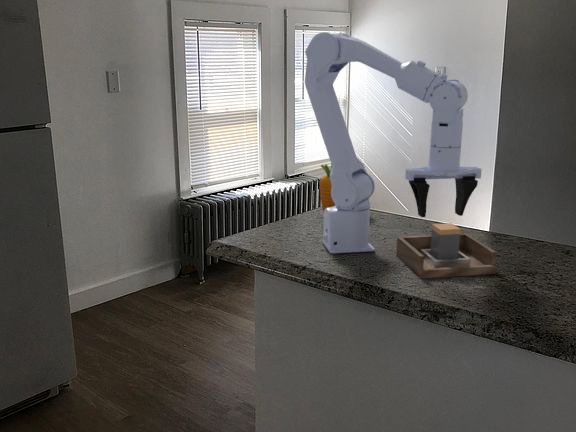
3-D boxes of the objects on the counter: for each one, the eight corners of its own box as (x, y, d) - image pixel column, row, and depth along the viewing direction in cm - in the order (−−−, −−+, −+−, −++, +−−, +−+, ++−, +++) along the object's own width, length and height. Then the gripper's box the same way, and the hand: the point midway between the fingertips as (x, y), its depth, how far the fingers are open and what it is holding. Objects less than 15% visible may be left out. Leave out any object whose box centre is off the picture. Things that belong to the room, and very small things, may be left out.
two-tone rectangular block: (438, 264, 118) (440, 229, 116) (430, 258, 122) (432, 224, 120) (457, 263, 119) (460, 228, 117) (449, 257, 123) (451, 223, 121)
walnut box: (420, 278, 113) (421, 257, 112) (396, 255, 125) (397, 236, 124) (496, 273, 115) (498, 253, 114) (465, 251, 128) (467, 233, 127)
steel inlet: (434, 268, 116) (434, 261, 116) (420, 256, 123) (420, 249, 123) (470, 266, 117) (470, 259, 117) (454, 254, 124) (454, 247, 124)
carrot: (325, 225, 147) (327, 163, 143) (315, 220, 151) (316, 160, 147) (343, 223, 149) (345, 161, 145) (332, 218, 153) (334, 158, 149)
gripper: (416, 150, 112) (412, 222, 115) (491, 148, 114) (484, 219, 118) (403, 144, 118) (399, 212, 122) (474, 142, 121) (468, 209, 124)
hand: (440, 215), depth 120 cm, fingers open, 7 cm apart
